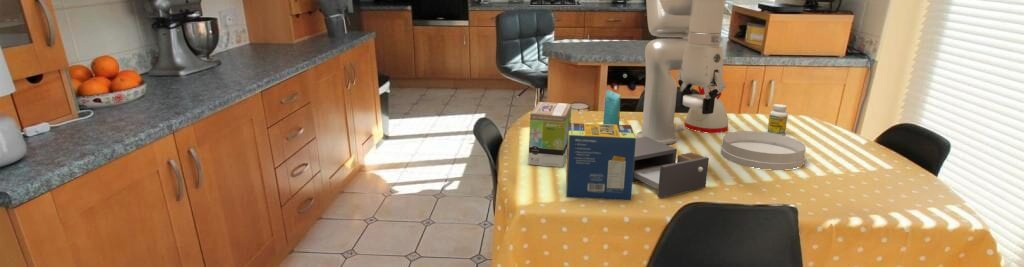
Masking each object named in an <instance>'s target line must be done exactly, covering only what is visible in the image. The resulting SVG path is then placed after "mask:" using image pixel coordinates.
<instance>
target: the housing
mask: <svg viewBox="0 0 1024 267" xmlns="http://www.w3.org/2000/svg"><path fill="white" fill-rule="evenodd" d="M635 138H636V143H635V156H634V168H633V176H634V171H635V170H640V169H645V168H650V167H655V166H660V165H665V164H672V163H677V155H678V154H677V153H678V149H677V148H676V147H673V146H671V145H669V144H663V143H661V142H658V141H655V140H653V139H650V138H648V137H641V138H637V137H635ZM639 182H641V181H640V180H638V179H636V178H634V177H633V181H632V184H635V183H639Z"/></svg>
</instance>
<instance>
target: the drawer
mask: <svg viewBox="0 0 1024 267" xmlns="http://www.w3.org/2000/svg"><path fill="white" fill-rule="evenodd" d="M709 162H710V158H709V157H708V156H703V157H702V158H697V159H692V160H687V161H682V162H677V161H676V163H672V164H665V165H660V166H655V167H650V168H645V169H640V170H635V171H634V176H633V177H634V178H636V179H638V180H640V182H643V183H644V184H647V185H649V186H650V187H652V188H654V189H657V192H658V193H657V197H658V198H659V199H663V198H668V197H671V196H676V195H680V194H683V193H684V194H685V193H688V192H692V191H697V190H700V189H704V188H706V187H707V179H708V178H707V177H708V170H709Z"/></svg>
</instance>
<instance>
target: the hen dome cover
mask: <svg viewBox="0 0 1024 267" xmlns="http://www.w3.org/2000/svg"><path fill="white" fill-rule="evenodd" d="M697 87H698V88H697V89H698V92H699V95H705V92H704V88H703V87H700V86H697ZM709 90H710V92H711V89H709ZM721 96H722V92H721V93H720V94H719V95H718V97H717V98H715V102H714V111H713V113H712V114H702V108H691V107H689V109H688V112H687V114H686V117H685V120H684V121H685V122H684V127H685V126H686V127H687V129H688V128H689V129H688V130H690V129H693V130H696V131H695V132H697V131H700V132H699V133H704V132H707V133H706V134H720V133H721V132H722V133H725V131H726V132H727V131H728V128H729V118H728V114H727V110H726V107H725V105H724V103H723V101H722V99H720V98H721ZM686 127H685V128H686ZM693 130H692V131H693Z"/></svg>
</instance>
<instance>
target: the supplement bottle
mask: <svg viewBox="0 0 1024 267" xmlns="http://www.w3.org/2000/svg"><path fill="white" fill-rule="evenodd" d="M788 117H789V114H788V112H787V105H785V104H777V103H776V104H772V110H771V111H770V112H769V117H768V122H767V124H768V125H767V131H766V132H767V133H773V134H779V135H783V136H786V130H787V123H788Z"/></svg>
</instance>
